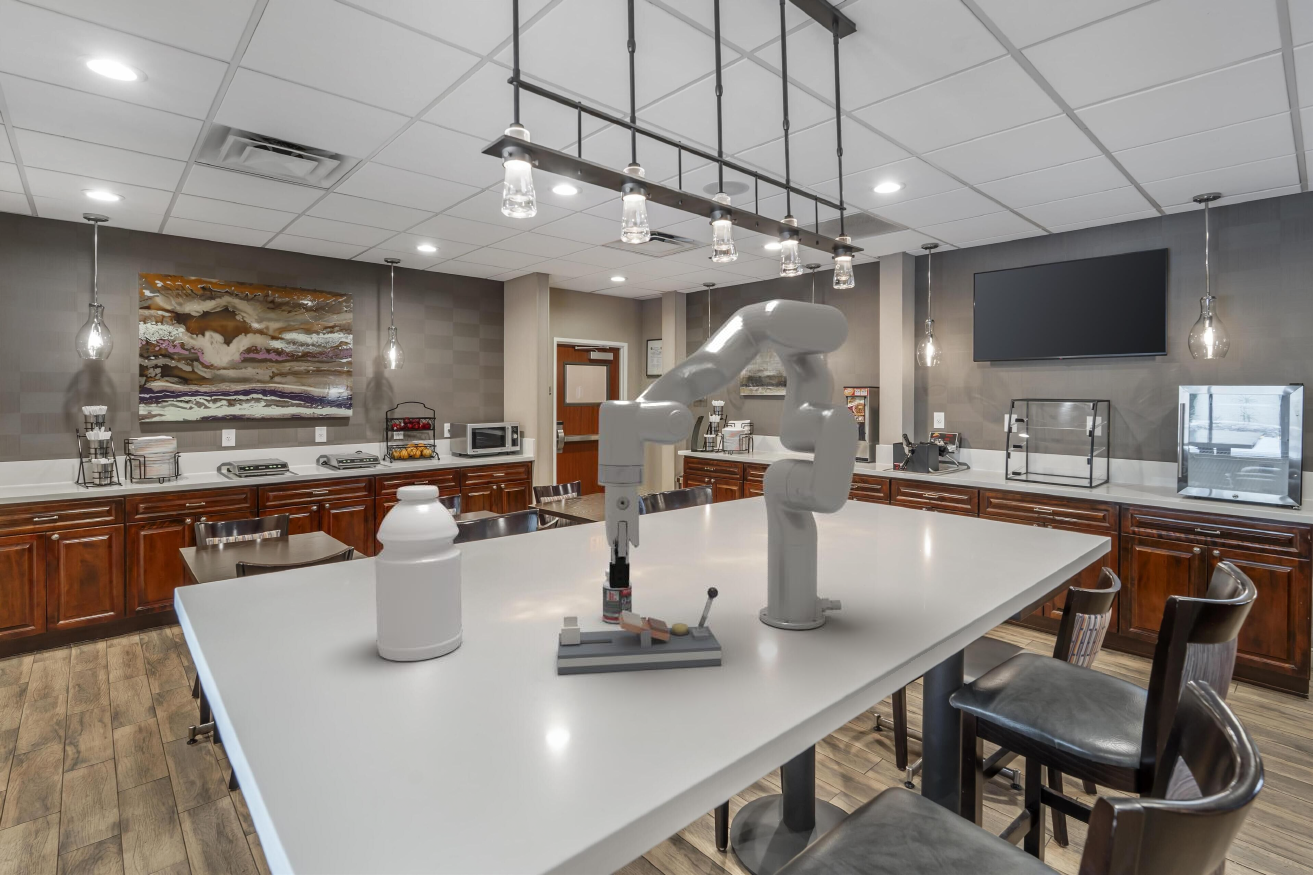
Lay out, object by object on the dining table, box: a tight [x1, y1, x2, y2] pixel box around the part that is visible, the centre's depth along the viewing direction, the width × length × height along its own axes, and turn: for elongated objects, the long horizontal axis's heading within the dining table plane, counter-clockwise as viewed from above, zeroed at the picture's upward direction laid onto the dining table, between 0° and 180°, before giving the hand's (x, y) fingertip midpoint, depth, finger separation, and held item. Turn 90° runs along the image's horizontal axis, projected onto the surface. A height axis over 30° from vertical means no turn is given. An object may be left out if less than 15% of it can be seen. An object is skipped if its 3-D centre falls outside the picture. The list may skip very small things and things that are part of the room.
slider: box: [560, 614, 581, 645], centre depth 103 cm, size 3×2×4 cm
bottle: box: [374, 484, 463, 662], centre depth 109 cm, size 14×14×28 cm
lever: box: [697, 586, 719, 629], centre depth 106 cm, size 2×2×7 cm
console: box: [557, 616, 722, 676], centre depth 104 cm, size 26×10×6 cm, turn 98°
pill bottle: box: [602, 567, 633, 624], centre depth 124 cm, size 6×6×10 cm
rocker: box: [619, 610, 670, 641], centre depth 104 cm, size 8×5×2 cm, turn 98°
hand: (619, 586), depth 103 cm, fingers closed
